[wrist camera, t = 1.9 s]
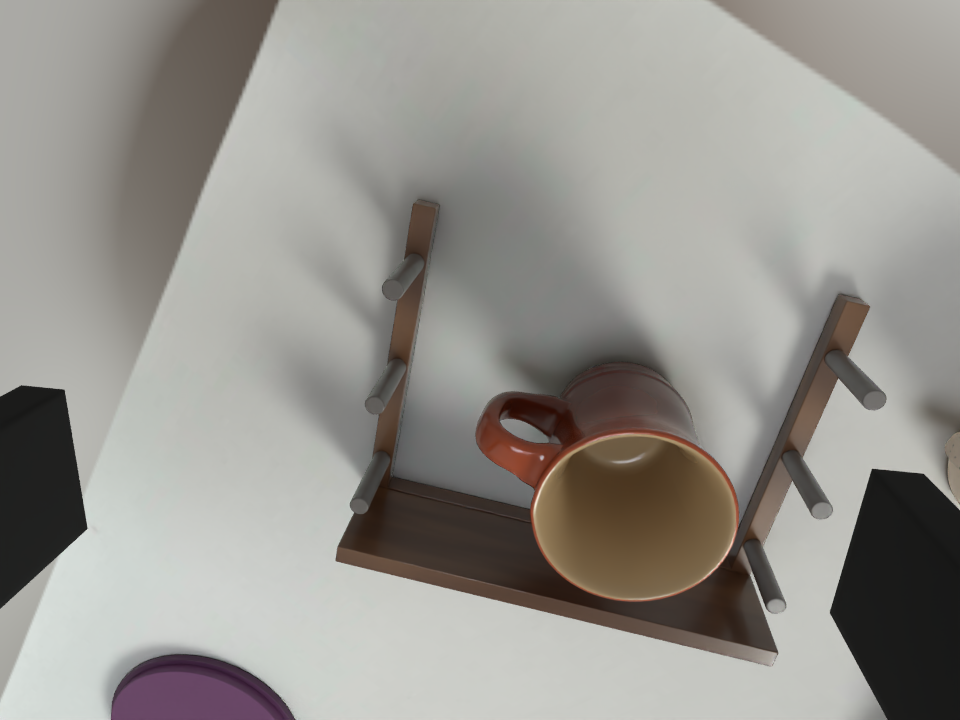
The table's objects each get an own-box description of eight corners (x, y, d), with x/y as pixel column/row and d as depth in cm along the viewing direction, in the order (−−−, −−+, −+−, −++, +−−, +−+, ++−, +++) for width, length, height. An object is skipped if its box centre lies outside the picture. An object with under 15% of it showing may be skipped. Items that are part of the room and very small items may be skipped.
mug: (728, 383, 38) (782, 486, 28) (647, 503, 41) (671, 630, 32) (529, 289, 37) (516, 362, 28) (464, 419, 41) (432, 523, 31)
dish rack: (417, 199, 36) (383, 227, 29) (861, 299, 35) (929, 350, 29) (370, 488, 43) (335, 563, 36) (739, 576, 42) (771, 668, 36)
